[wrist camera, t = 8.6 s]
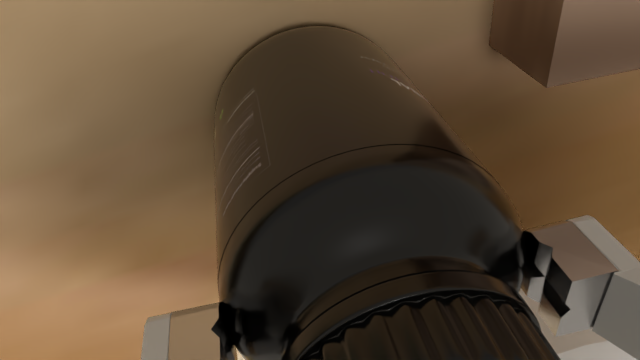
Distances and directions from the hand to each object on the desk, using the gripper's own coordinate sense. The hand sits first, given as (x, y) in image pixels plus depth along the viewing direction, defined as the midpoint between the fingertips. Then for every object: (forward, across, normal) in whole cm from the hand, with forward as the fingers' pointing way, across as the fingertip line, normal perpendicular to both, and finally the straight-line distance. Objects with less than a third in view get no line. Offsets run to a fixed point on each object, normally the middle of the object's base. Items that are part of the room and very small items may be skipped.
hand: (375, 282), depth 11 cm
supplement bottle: (+8, 0, 0) cm, 8 cm away
